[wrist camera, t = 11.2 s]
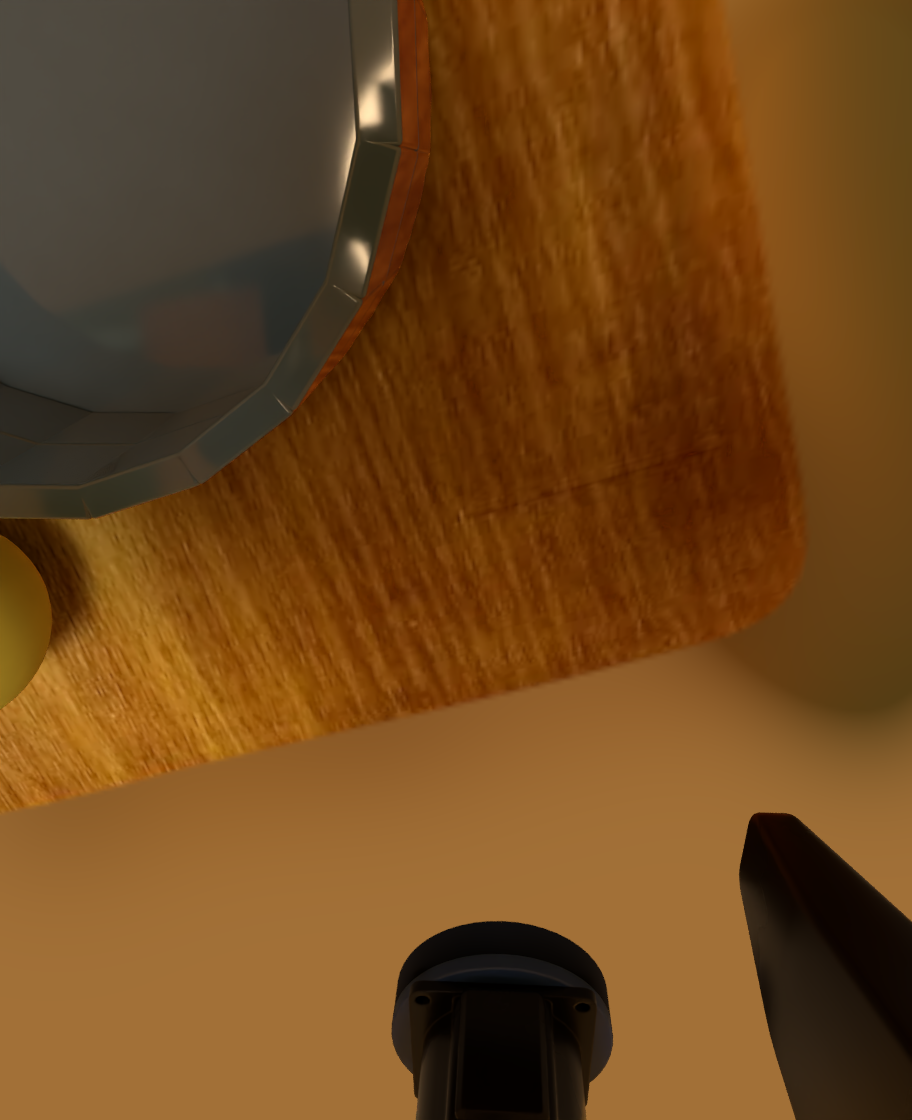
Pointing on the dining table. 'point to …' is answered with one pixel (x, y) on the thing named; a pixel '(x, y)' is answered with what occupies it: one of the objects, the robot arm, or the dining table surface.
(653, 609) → the dining table surface
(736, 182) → the dining table surface
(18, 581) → the pear toy
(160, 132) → the bowl
